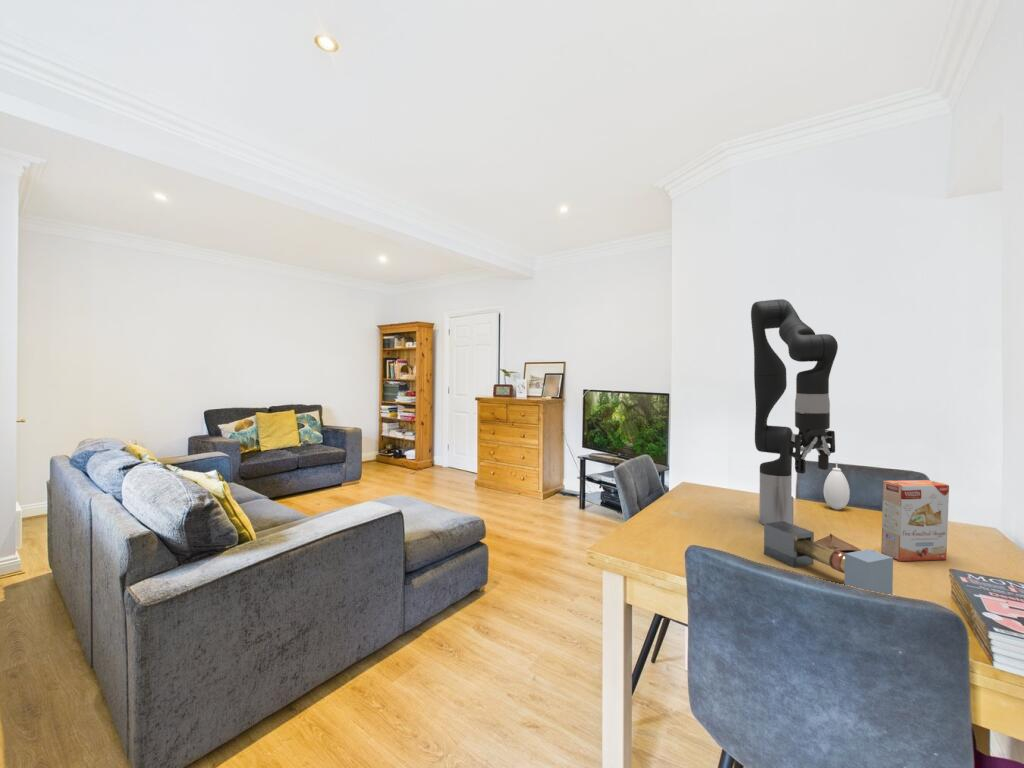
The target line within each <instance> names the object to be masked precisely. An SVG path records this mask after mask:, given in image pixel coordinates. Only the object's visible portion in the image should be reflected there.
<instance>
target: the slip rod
mask: <svg viewBox="0 0 1024 768" xmlns="http://www.w3.org/2000/svg"><path fill="white" fill-rule="evenodd" d="M797 553H800V554H802V555H804V556H807V557H809V558H812V559H814V560H815V561H817V562H819V563H821V564H824V565H826V566H828V567H830V568H831V569H833V570H835V571H837V572H839V573H842V574H845V553H843V552H840V551H834V550H832V549H829V548H827V547H824V546H821V545H819V544H816V543H813V542H811V541H808V540H805V539H803V538H801V539H797ZM814 560H813V561H814Z"/></svg>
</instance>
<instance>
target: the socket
mask: <svg viewBox="0 0 1024 768" xmlns="http://www.w3.org/2000/svg"><path fill="white" fill-rule="evenodd" d="M860 550H861V551H856V552H850V553H845V573H844V584H845V585H849V586H853V587H856V588H861V589H864V590H869V591H874V592H879V593H884V594H891V595H893V592H894V590H893V589H894V588H893V584H894V583H893V580H894V576H893V575H894V558H893V557H890V556H887V555H885V554H883V553H881V552H878V551H876V550H872V549H870V548H867V549H863V550H862V549H860Z"/></svg>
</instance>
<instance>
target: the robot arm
mask: <svg viewBox="0 0 1024 768" xmlns="http://www.w3.org/2000/svg"><path fill="white" fill-rule="evenodd" d="M750 321H751V322H750V323H751V331H752V340H753V342H752V343H753V353H754V354H753V356H754V357H753V361H754V362H753V375H754V376H753V379H754V380H753V381H754V382H753V383H754V396H755V398H754V399H755V420H754V444H755V448H756V450H757V451H758V452H761V453H768V454H769V453H770V454H778V455H779V457H778V458H777V459H775V460H770V461H766V462H765V461H764V462H762V463H760V465H759V506H758V507H759V510H758V511H759V512H758V514H759V516H758V519H759V523H760V524H761V525H764V524H766V523H773V522H780V521H784V522H787V523H790V524H793V525H794V496H792V489H793V488H792V485H793V484H792V483H793V482H792V478H793V477H792V476H793V475H792V471H793V468H792V466H793V458H794V470H795V472H796V473H797V474H803V475H804V474H805V473H806V457H807V455H808V454H810V453H811V452H812V450H814V449H815V450H816V451H817V453H818V455H817V456H818V457H817V462H818V463H817V467H818V469H819V470H823V471H828V470H829V459H830V458H829V457H830V456H831V454H834V453H835V452H836V433H835V431H834V430H829V429H830V428H831V427H830V424H831V423H830V422H831V420H830V419H831V418H830V417H831V415H830V414H831V410H830V409H831V405H830V404H831V403H830V402H831V401H830V396H829V395H830V393H829V392H830V386H829V385H830V383H829V380H830V375H831V372H832V369H833V365H834V362H835V359H836V357H837V353H838V347H839V345H838V342H837V339H836V338H835V337H834V336H833V335H831V334H828V333H825V334H824V333H823V334H822V333H820V334H819V333H818V334H816V333H815V331H814V329H813V328H811V327H810V326H809V325H808V324H806V323H805V322H804V321H803V320H802V319H801V318H800V316H799V314H798V313H797V311H796V310H795V308H794V307H793V304H791V302H789V300H787V299H781V298H780V299H779V298H778V299H767V300H759V301H755V302H754V303H753V304H752V306H751V310H750ZM768 329H770V330H771V329H779V330H778V334H779V337H780V339H781V340H782V341H783V342H784V343H785V345H786V346H787V348H788V355H789V357H790V358H791V360H793V361H796V362H799V363H801V362H802V363H803V362H804V363H805V362H816V363H815V365H814V366H813V368H811V369H807V370H803V371H799V372H797V374H796V378H795V379H796V381H795V386H796V388H795V389H796V391H795V399H794V400H795V401H794V405H795V406H794V427H796V428H797V429H798V433H797V434H796V433H794V432H793V430H792V428H790V427H789V426H782V425H781V426H780V425H779V426H778V425H768V418H769V415H770V413H771V411H772V410H773V408H774V407H775V405H776V404H777V403H778V401H779V400H780V399H781V397H782V396H783V395H784V393H785V392H786V389H787V386H788V385H787V383H788V382H787V367H786V365H785V363H784V361H782V359H781V358H780V357H779V355H778V354H777V353H776V352H775V350H774V349H773V348H772V346H771V345H770V343H769V340H768V337H767V334H766V330H768ZM829 445H830V446H829ZM794 449H795V450H794Z"/></svg>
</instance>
